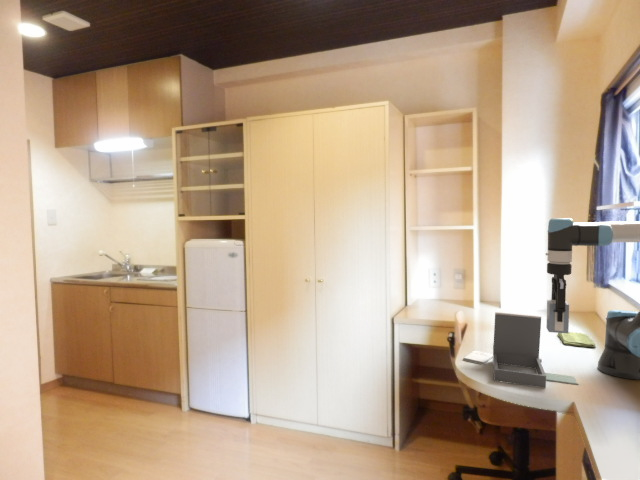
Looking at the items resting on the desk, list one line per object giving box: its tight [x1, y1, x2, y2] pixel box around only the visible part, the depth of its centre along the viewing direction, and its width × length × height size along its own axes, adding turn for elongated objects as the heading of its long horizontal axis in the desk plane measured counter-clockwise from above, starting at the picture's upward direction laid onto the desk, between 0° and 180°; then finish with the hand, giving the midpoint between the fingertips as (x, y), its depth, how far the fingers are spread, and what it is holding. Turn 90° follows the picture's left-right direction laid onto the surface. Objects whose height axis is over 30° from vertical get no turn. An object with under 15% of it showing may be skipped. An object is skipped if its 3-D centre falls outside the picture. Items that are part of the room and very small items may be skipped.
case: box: [492, 311, 547, 389], centre depth 162 cm, size 17×21×20 cm
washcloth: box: [557, 331, 596, 349], centre depth 205 cm, size 13×18×3 cm
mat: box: [545, 372, 579, 386], centre depth 159 cm, size 10×7×1 cm
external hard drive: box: [462, 350, 493, 366], centre depth 179 cm, size 2×8×12 cm
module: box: [546, 299, 570, 334], centre depth 158 cm, size 6×6×10 cm
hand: (557, 327), depth 158 cm, fingers closed on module, 6 cm apart
